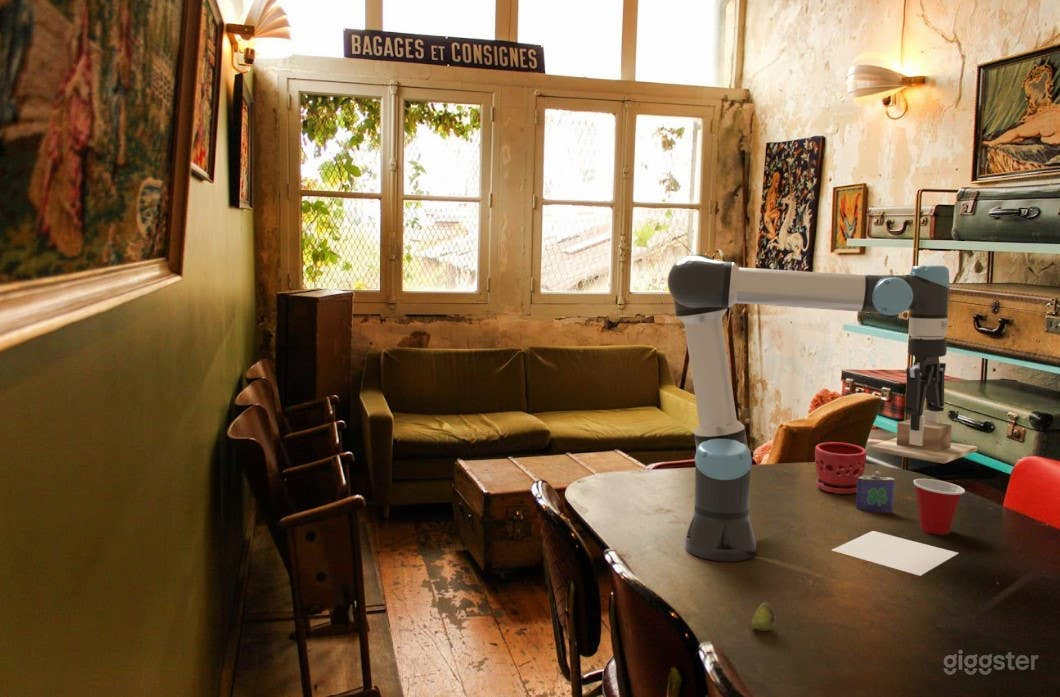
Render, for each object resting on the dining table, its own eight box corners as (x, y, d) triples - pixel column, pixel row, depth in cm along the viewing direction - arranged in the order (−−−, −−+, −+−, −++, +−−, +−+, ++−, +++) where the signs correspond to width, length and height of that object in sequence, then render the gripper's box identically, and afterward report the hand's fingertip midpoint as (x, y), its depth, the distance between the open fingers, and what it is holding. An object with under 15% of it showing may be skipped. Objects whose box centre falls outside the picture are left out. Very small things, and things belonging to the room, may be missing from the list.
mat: (919, 580, 166) (920, 575, 166) (830, 554, 180) (830, 550, 180) (958, 557, 178) (958, 553, 178) (872, 534, 192) (872, 530, 192)
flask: (891, 511, 210) (893, 469, 209) (895, 515, 207) (898, 473, 206) (854, 510, 210) (856, 469, 209) (858, 514, 207) (860, 472, 206)
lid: (944, 463, 171) (945, 434, 171) (869, 450, 183) (870, 423, 183) (977, 451, 181) (978, 424, 181) (904, 439, 194) (905, 413, 193)
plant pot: (803, 486, 232) (805, 444, 230) (838, 481, 237) (840, 440, 236) (838, 499, 220) (840, 455, 219) (875, 493, 225) (877, 450, 224)
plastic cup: (968, 544, 187) (971, 491, 185) (916, 540, 189) (919, 489, 187) (954, 528, 197) (957, 478, 196) (905, 525, 199) (908, 476, 198)
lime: (750, 635, 142) (751, 607, 141) (748, 622, 147) (749, 595, 146) (777, 637, 141) (778, 609, 141) (774, 625, 146) (775, 597, 145)
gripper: (924, 341, 171) (920, 452, 173) (964, 335, 183) (960, 438, 186) (889, 339, 177) (885, 446, 179) (930, 333, 189) (926, 433, 191)
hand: (923, 442), depth 182 cm, fingers closed on lid, 6 cm apart
